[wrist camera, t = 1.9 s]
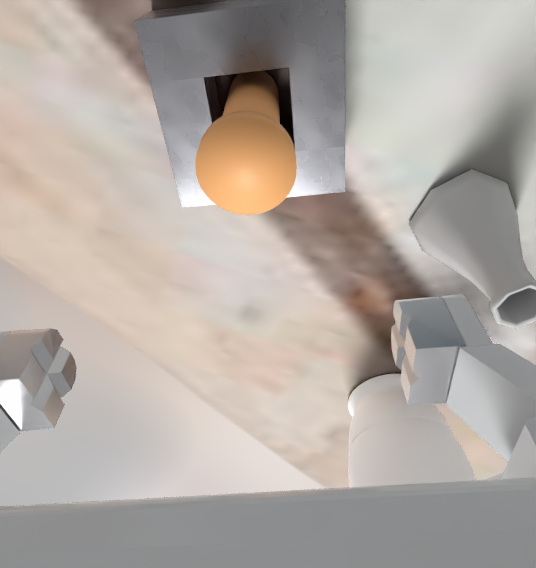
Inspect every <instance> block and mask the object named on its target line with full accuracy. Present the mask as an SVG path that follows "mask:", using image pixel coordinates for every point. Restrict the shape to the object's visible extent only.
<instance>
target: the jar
mask: <svg viewBox="0 0 536 568" xmlns="http://www.w3.org/2000/svg"><path fill="white" fill-rule="evenodd" d="M348 409H349V412H350V414H351V416H352V417H353V419H352V422H351V425H350V431H349V461H348V476H349V487H365V486H384V485H402V484H421V483H439V482H457V481H476V479H475V476H474V473H473V471H472V468H471V466H470V463H469V461H468V459H467V457H466V455H465V453H464V451H463V449H462V447H461V445H460V444H459V442H458V440H457V439H456V437H455V436H454V434H453V432H452V430H451V428H450V426H449V424H448V423H447V421H446V419H445V418H444V416H443V415H442V413H441V412H440V411H439V410H438V409H437V407H436V406H435V405H434V404H411V405H408V403H407V400H406V397H405V394H404V391H403V387H402V384H401V374H385V375H381V376H377V377H374V378H371V379H369V380H367V381H365V382H363V383H362V384H360V385H359V386H358V387H357V388H356V389H355V390H354V391H353V392H352V393H351V395H350V397H349V400H348Z"/></svg>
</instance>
